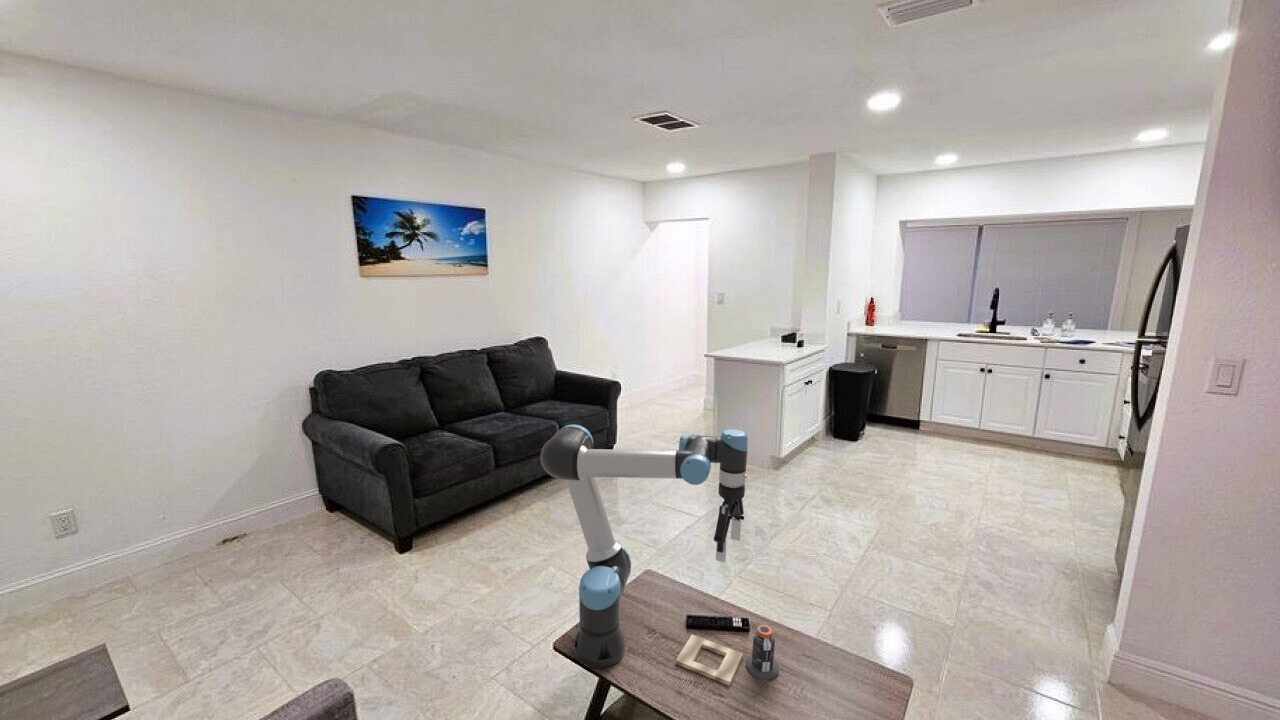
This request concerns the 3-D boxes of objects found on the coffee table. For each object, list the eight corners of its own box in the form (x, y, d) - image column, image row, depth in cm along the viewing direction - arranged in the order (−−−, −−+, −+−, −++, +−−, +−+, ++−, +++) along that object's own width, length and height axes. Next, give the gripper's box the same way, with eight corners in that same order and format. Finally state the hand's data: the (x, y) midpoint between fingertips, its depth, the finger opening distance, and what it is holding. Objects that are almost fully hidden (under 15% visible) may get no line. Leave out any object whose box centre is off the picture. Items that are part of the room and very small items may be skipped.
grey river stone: (742, 671, 146) (742, 669, 145) (751, 651, 153) (751, 648, 153) (774, 684, 141) (774, 681, 141) (781, 662, 149) (782, 660, 149)
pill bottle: (773, 674, 144) (776, 638, 142) (751, 670, 145) (754, 635, 143) (772, 658, 150) (775, 623, 147) (751, 655, 151) (753, 620, 149)
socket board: (675, 663, 148) (675, 660, 148) (691, 637, 158) (692, 634, 158) (729, 685, 141) (729, 682, 140) (742, 657, 151) (743, 653, 151)
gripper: (730, 502, 138) (726, 574, 142) (756, 470, 160) (752, 534, 164) (704, 496, 142) (701, 566, 146) (733, 466, 163) (729, 528, 167)
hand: (728, 549), depth 155 cm, fingers open, 13 cm apart
